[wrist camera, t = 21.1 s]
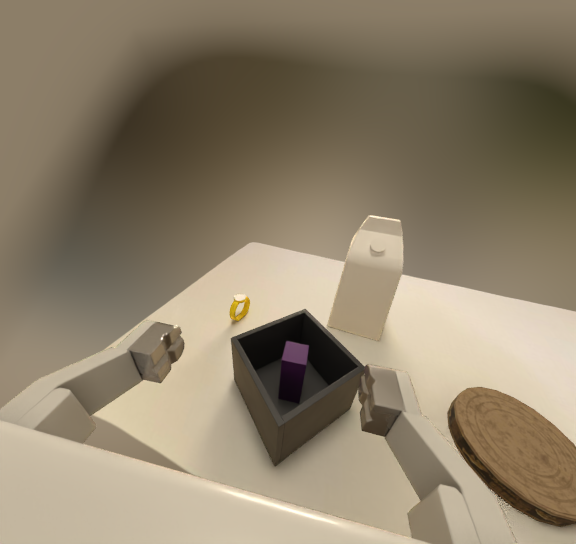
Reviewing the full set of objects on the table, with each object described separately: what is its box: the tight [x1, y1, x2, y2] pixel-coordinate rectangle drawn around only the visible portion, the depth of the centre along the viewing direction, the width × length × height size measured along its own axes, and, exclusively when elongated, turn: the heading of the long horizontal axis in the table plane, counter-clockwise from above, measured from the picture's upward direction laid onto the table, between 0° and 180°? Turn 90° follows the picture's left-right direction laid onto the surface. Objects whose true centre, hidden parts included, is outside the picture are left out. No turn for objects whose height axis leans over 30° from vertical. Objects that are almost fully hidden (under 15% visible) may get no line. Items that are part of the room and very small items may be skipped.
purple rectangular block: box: [278, 341, 309, 403], centre depth 36 cm, size 4×4×10 cm
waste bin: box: [231, 309, 365, 466], centre depth 36 cm, size 15×15×11 cm
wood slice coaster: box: [448, 387, 576, 527], centre depth 33 cm, size 16×16×3 cm
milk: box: [327, 215, 403, 341], centre depth 50 cm, size 12×12×26 cm
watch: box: [230, 294, 250, 321], centre depth 52 cm, size 6×3×6 cm, turn 153°
